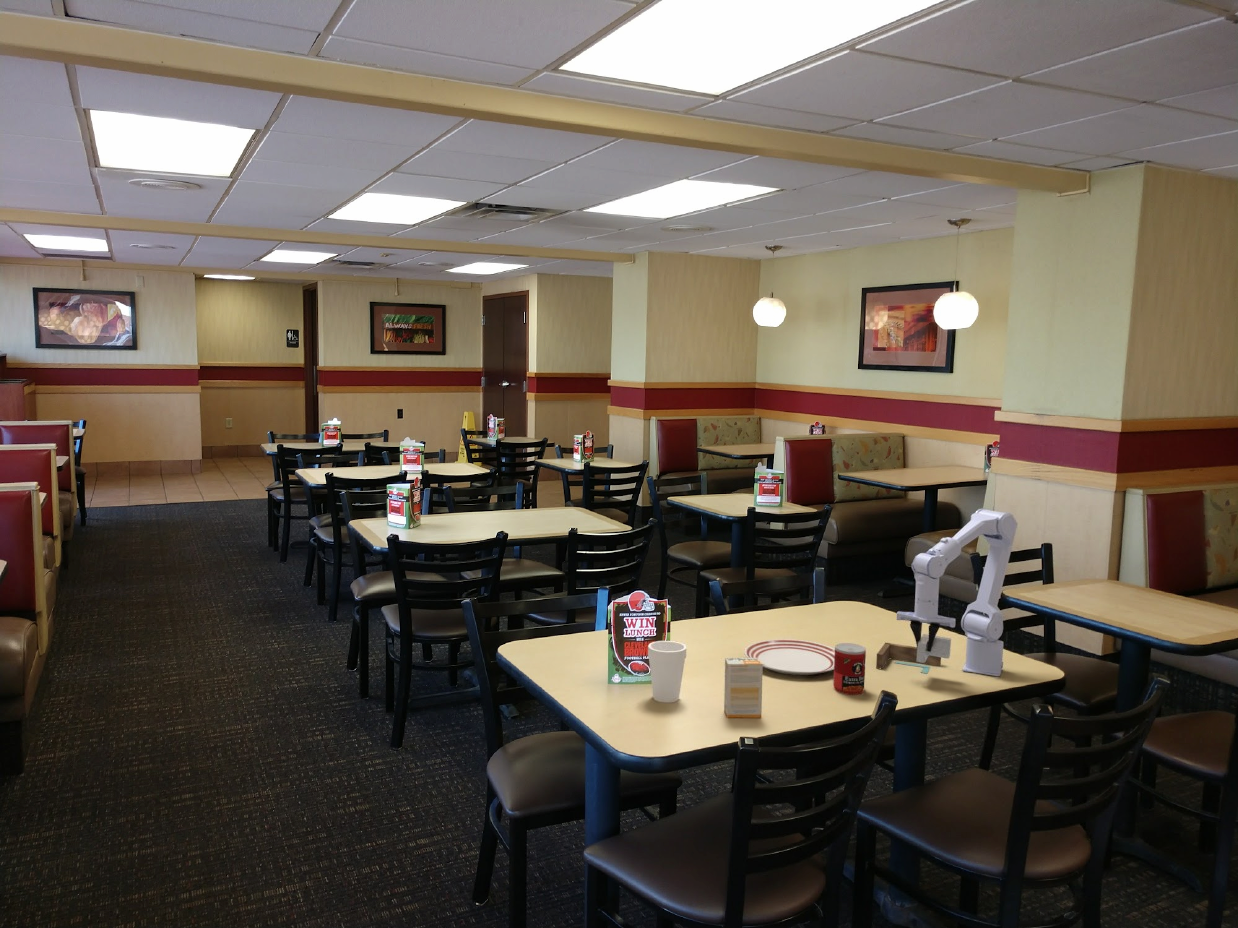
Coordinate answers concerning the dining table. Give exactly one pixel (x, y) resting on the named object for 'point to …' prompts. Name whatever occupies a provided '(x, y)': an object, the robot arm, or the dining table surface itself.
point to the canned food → (849, 668)
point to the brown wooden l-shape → (902, 655)
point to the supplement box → (743, 688)
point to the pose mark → (924, 670)
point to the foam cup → (666, 669)
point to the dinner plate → (793, 656)
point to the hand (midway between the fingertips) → (924, 649)
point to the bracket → (933, 648)
